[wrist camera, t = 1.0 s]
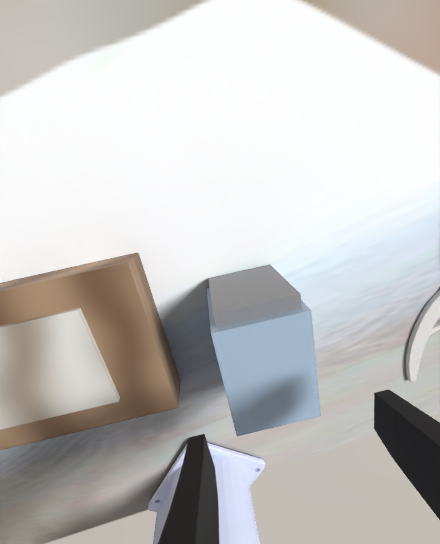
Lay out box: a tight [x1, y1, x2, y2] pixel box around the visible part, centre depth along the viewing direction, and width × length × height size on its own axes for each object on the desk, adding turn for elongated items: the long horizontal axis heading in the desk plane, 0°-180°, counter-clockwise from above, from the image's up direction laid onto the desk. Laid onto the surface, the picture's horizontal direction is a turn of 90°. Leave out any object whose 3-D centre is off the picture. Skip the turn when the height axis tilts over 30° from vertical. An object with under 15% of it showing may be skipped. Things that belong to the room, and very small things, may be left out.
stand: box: [0, 253, 180, 450], centre depth 16 cm, size 16×11×3 cm
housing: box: [206, 265, 321, 436], centre depth 15 cm, size 8×5×6 cm, turn 12°
